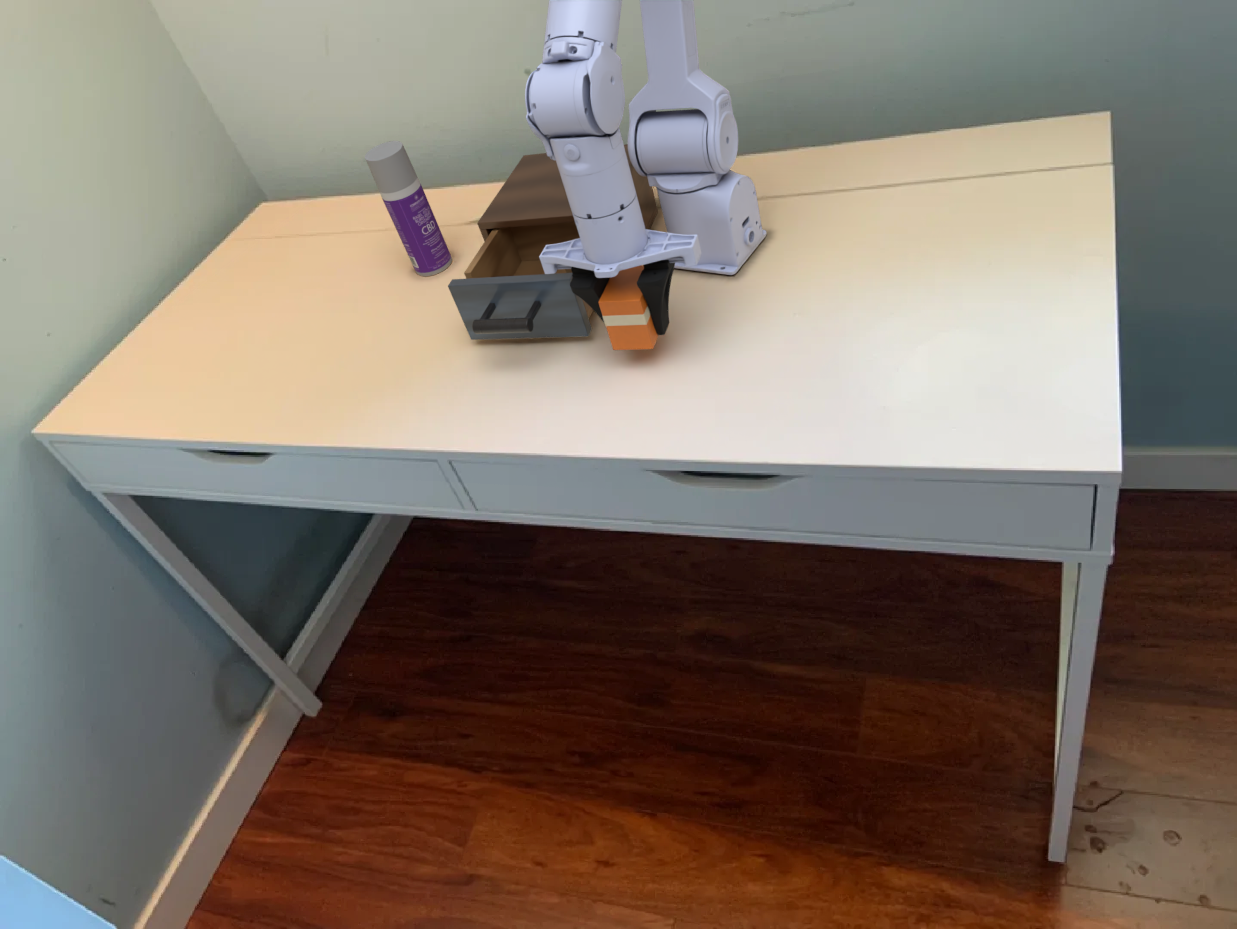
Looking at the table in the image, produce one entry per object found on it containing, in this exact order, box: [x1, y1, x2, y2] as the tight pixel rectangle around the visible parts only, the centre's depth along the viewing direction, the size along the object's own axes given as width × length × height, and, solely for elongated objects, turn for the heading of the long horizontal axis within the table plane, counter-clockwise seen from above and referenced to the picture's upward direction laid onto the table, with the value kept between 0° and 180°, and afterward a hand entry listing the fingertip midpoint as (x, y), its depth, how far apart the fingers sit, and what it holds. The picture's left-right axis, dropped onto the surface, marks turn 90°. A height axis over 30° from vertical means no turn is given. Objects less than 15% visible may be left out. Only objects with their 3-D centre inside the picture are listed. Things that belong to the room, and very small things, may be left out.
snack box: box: [598, 265, 660, 351], centre depth 89 cm, size 6×4×6 cm
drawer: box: [447, 222, 594, 341], centre depth 99 cm, size 18×13×7 cm
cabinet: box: [477, 143, 659, 243], centre depth 107 cm, size 15×15×9 cm
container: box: [364, 140, 453, 277], centre depth 111 cm, size 5×5×15 cm
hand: (640, 329), depth 91 cm, fingers closed on snack box, 4 cm apart
